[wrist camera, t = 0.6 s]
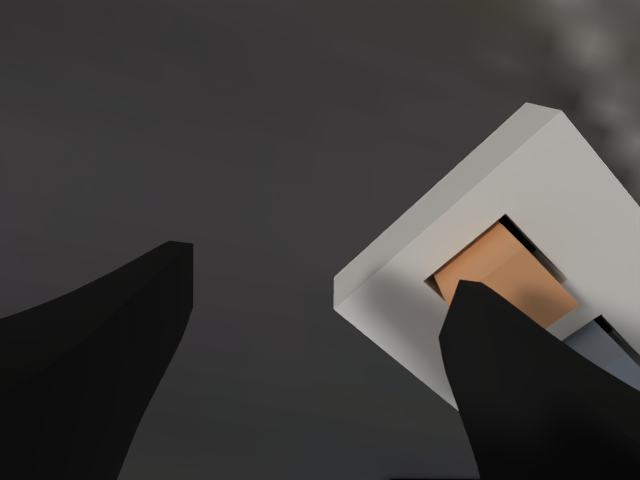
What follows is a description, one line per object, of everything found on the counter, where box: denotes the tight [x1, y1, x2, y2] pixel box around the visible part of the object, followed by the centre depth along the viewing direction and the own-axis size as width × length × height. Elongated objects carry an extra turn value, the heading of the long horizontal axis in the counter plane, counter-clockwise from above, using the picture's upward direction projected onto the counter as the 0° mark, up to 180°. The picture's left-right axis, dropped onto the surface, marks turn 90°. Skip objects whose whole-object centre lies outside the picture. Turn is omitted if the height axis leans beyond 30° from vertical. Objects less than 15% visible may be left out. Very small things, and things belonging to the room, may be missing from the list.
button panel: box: [334, 103, 640, 411], centre depth 21 cm, size 22×12×3 cm, turn 47°
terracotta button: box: [433, 220, 580, 329], centre depth 17 cm, size 4×4×3 cm
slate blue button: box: [562, 320, 640, 391], centre depth 19 cm, size 4×4×3 cm
